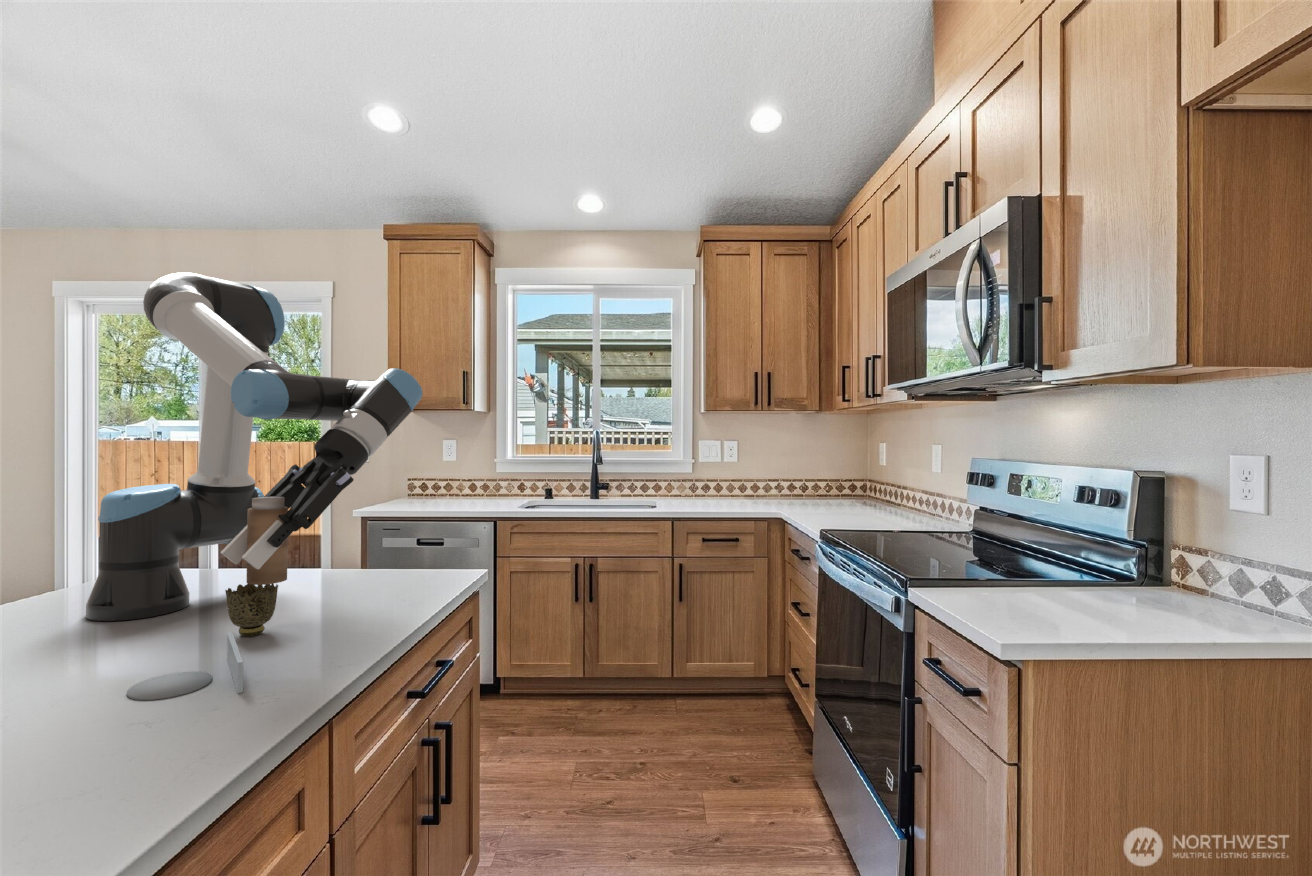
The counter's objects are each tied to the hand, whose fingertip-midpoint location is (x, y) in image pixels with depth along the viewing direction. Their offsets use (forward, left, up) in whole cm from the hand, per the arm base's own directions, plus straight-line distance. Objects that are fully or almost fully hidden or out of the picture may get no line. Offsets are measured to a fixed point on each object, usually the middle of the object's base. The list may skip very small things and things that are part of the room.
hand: (239, 560), depth 87 cm
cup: (-20, +4, -16) cm, 26 cm away
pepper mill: (-1, +3, -3) cm, 5 cm away
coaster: (-1, -7, -16) cm, 18 cm away
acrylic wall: (0, 0, -16) cm, 16 cm away
